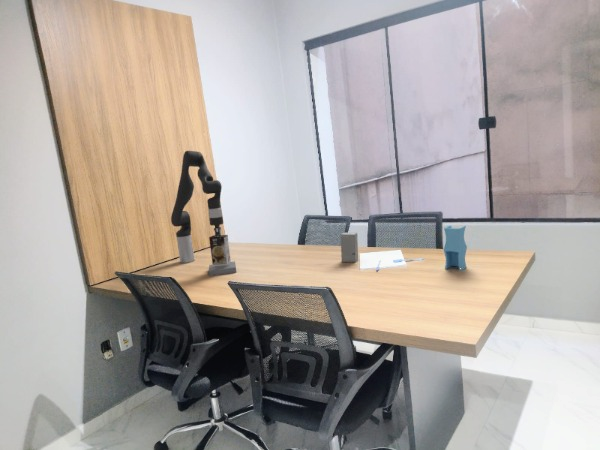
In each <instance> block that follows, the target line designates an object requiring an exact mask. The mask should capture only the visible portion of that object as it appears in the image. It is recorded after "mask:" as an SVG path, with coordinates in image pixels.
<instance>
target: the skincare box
mask: <svg viewBox="0 0 600 450" xmlns="http://www.w3.org/2000/svg"><path fill="white" fill-rule="evenodd" d="M358 241H359V239H358V232H342V233H340V248H341V249H340V251H341V252H340V253H341V255H340V256H341V262H342V263H357V261H358V260H359V247H358V246H359V243H358Z"/></svg>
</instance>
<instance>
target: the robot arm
mask: <svg viewBox="0 0 600 450" xmlns="http://www.w3.org/2000/svg"><path fill="white" fill-rule="evenodd" d="M190 167H192V168H193V167H195V168H196V167H198V169H197V177H198V179H199V181H200V182H201V188H202V192H203V193H204V194H206V195H210V194H213V196H212V197H209V198H207V211H208V221H209V226H213V232H214V235H215V236H216V240H217V246H221V237H220V236H221V235H222V227H221V226H220V225H223V224H224V218H223V210H222V207H221V206H222V205H221V193H222V189H223V188H222V186H223V185H222V182H221V181H220V180H217V179H215V180H214V177H213V175H212V173H211V172H210V171H209V169H208V166H207V164H206V160H205V157H204V155H203V153H202V152H200V151H195V150H186V151H185V152H184V154H183V156H182V165H181V172H180V177H179V178H180V179H179V182H178V187H177V188H178V189H177V194H176V199H175V204H174V206H173V209H172V212H171V215H170V216H171V217H170V220H171V221H170V222H171V225H172V226H173V227H175V228H177V227H180V229H178V230H177V231H176V233H175V235H176V236H175V237H176V242H177V249H178V250H177V251H178V255H179V262H180V264H185V263H192V262H194V261H195V253H194V246H193V239H192V234H191V233H192V224H191V221H192V220H191V216H190V213H189V212H188V211H187V210H184V209H185V207H186V205H187V204H188V203H189V202H190V200H191V198H192V197H193V193H194V189H195V186H194V181H193V180H192V178H191V175H190ZM217 236H219V237H217Z"/></svg>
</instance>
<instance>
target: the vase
mask: <svg viewBox="0 0 600 450" xmlns="http://www.w3.org/2000/svg"><path fill="white" fill-rule="evenodd" d="M466 227H467V226H466V225H463V226H461V227H457V228H456V227H455V228H454V227H452V225H451V224H450V225H447V226H445V227H443V228H444V233H445V243H444V248H443V253H444V256H445V266H444V270H447V269H450V268H451V267H458V271H459V272H462V271H463V270H465V269H466V268H467V264H466V254H467V248H468V247H467V246H468V245H467V244H466V242H465V231H466ZM460 268H461V269H460Z"/></svg>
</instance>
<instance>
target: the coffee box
mask: <svg viewBox="0 0 600 450" xmlns="http://www.w3.org/2000/svg"><path fill="white" fill-rule="evenodd" d="M217 237H219V236H217ZM220 237H221V246H217V240H216V236H215V234H214V235H210V236H209V238H208V239H209V247H210V253H211V255H210V257H211V262H212V264H213V265H222V264H228V263H230V262H232V261H231V253H230V243H229V235H228V234H221V236H220ZM212 264H211V265H212Z"/></svg>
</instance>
